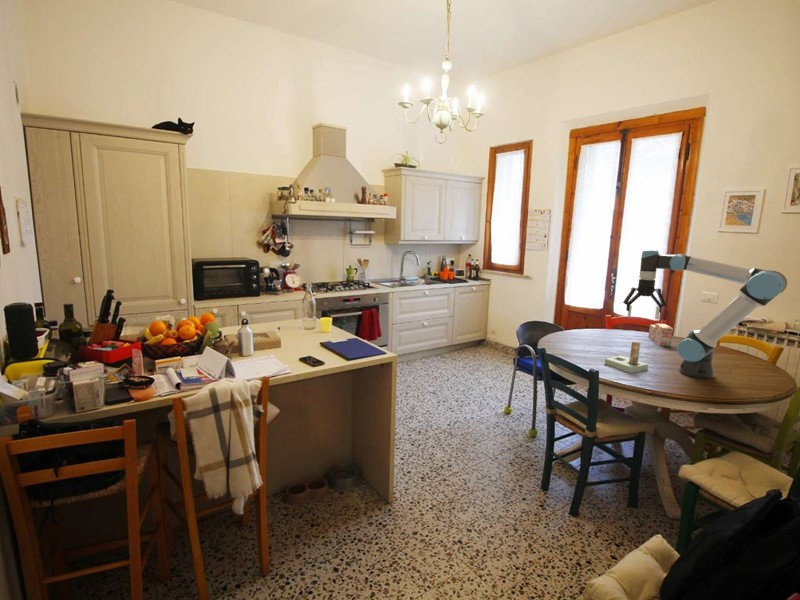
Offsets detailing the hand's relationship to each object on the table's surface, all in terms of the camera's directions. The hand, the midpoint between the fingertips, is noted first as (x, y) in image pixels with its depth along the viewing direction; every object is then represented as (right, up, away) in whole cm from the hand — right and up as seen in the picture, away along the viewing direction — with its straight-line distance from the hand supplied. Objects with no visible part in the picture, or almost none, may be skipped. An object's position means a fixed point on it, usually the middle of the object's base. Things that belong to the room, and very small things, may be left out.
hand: (642, 317), depth 225 cm
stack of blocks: (+44, -19, +57) cm, 75 cm away
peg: (-5, -28, +1) cm, 28 cm away
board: (-7, -27, +4) cm, 28 cm away
